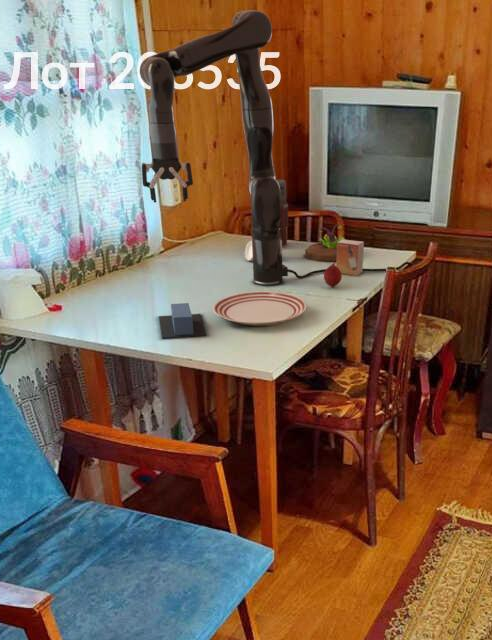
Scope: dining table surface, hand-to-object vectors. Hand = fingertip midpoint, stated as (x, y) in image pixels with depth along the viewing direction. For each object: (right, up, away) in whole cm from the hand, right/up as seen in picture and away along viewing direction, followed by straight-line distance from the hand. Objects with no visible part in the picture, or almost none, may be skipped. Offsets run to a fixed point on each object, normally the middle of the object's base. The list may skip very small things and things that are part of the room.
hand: (169, 201), depth 217 cm
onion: (+48, -18, +26) cm, 57 cm away
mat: (+5, -39, -8) cm, 40 cm away
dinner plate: (+27, -34, +1) cm, 43 cm away
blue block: (+7, -41, -16) cm, 45 cm away
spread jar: (+22, +1, +53) cm, 58 cm away
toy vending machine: (+25, +12, +71) cm, 76 cm away
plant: (+48, +5, +61) cm, 77 cm away
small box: (+54, -8, +41) cm, 68 cm away
